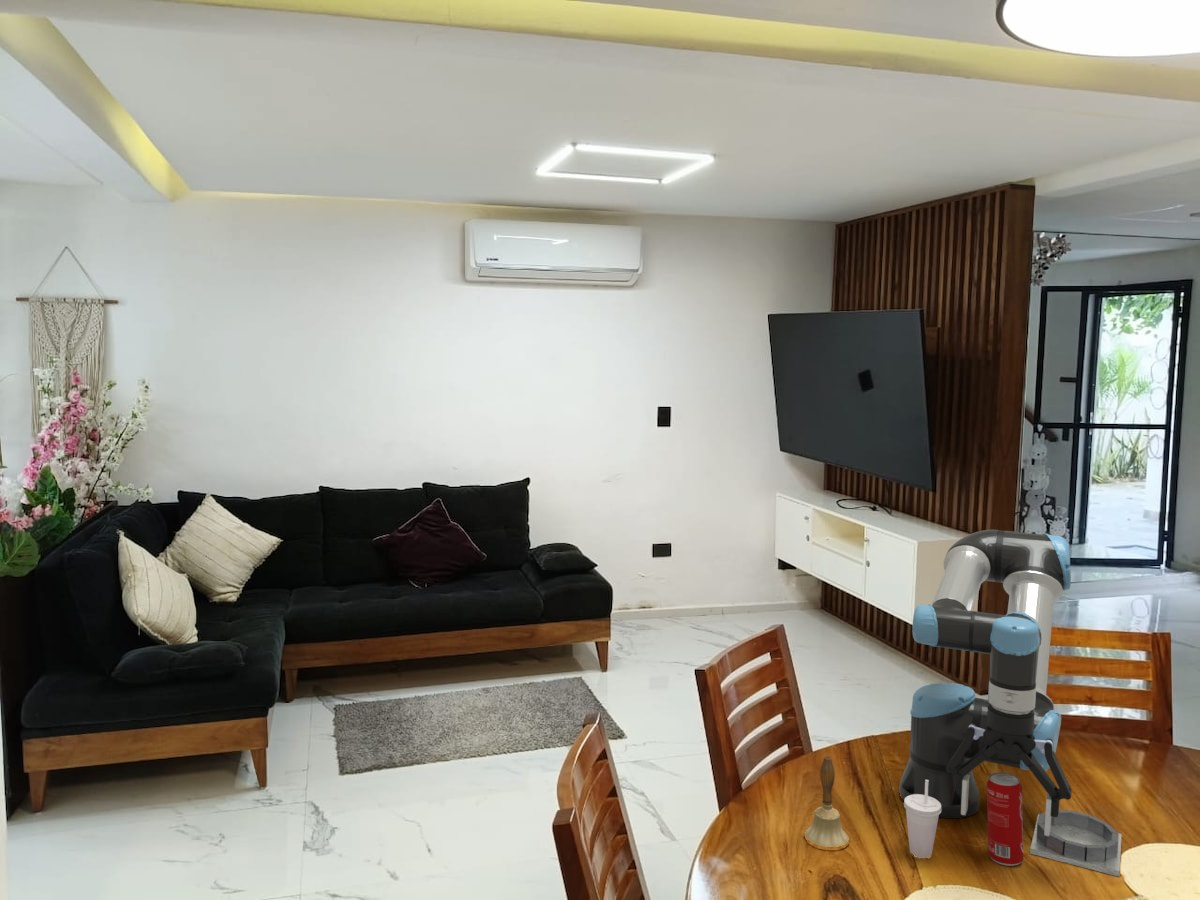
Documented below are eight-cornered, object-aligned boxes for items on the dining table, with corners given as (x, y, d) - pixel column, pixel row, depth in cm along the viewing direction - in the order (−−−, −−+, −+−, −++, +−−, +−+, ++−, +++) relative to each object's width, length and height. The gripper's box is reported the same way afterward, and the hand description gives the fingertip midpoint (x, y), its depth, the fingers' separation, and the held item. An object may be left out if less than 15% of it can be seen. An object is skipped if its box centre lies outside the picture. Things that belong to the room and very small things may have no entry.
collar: (1030, 853, 163) (1031, 835, 163) (1037, 819, 175) (1038, 801, 175) (1119, 876, 156) (1120, 857, 156) (1121, 839, 168) (1122, 821, 168)
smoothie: (935, 867, 159) (938, 791, 157) (897, 856, 162) (900, 782, 161) (942, 850, 164) (946, 776, 163) (906, 840, 168) (909, 768, 166)
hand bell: (824, 856, 163) (827, 771, 161) (794, 834, 170) (796, 753, 168) (859, 844, 166) (862, 761, 165) (828, 823, 174) (830, 744, 172)
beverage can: (1026, 869, 158) (1031, 788, 157) (987, 865, 160) (991, 784, 158) (1018, 851, 164) (1022, 772, 162) (980, 847, 165) (984, 768, 164)
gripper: (932, 699, 162) (927, 812, 164) (1090, 729, 149) (1082, 851, 151) (940, 686, 168) (935, 795, 171) (1092, 714, 155) (1085, 831, 158)
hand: (1004, 822), depth 161 cm, fingers open, 13 cm apart
